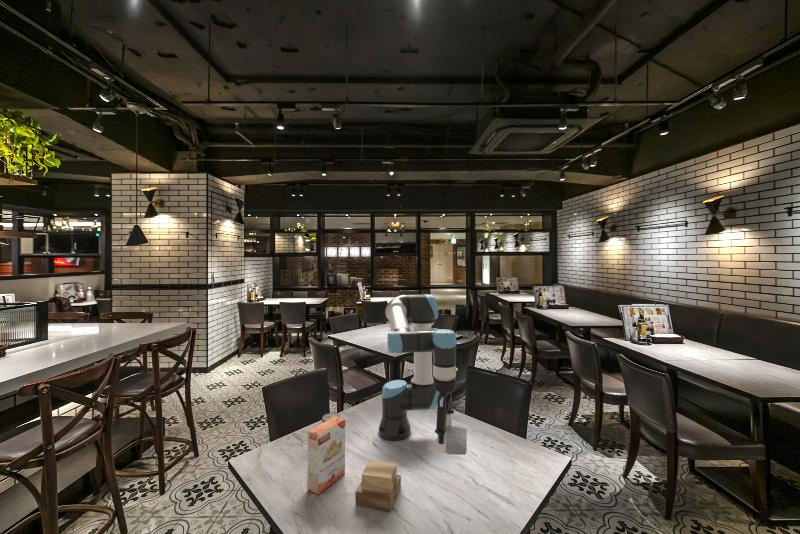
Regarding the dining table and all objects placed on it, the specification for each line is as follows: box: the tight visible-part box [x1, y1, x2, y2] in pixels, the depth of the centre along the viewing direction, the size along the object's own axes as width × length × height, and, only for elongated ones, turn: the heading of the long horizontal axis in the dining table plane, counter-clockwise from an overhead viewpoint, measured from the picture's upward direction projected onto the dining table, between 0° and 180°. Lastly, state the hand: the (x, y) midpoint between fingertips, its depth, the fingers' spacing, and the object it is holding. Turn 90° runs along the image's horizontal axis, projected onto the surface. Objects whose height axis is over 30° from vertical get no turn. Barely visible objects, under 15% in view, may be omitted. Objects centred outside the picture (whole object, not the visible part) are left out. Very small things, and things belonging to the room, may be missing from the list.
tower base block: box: [354, 474, 402, 514], centre depth 111 cm, size 12×12×5 cm
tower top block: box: [361, 460, 398, 494], centre depth 111 cm, size 8×10×5 cm
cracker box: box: [306, 416, 346, 495], centre depth 119 cm, size 14×6×21 cm, turn 148°
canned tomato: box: [321, 412, 341, 423], centre depth 146 cm, size 8×8×11 cm
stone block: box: [445, 425, 468, 456], centre depth 108 cm, size 12×5×10 cm
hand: (444, 442), depth 109 cm, fingers closed on stone block, 12 cm apart
